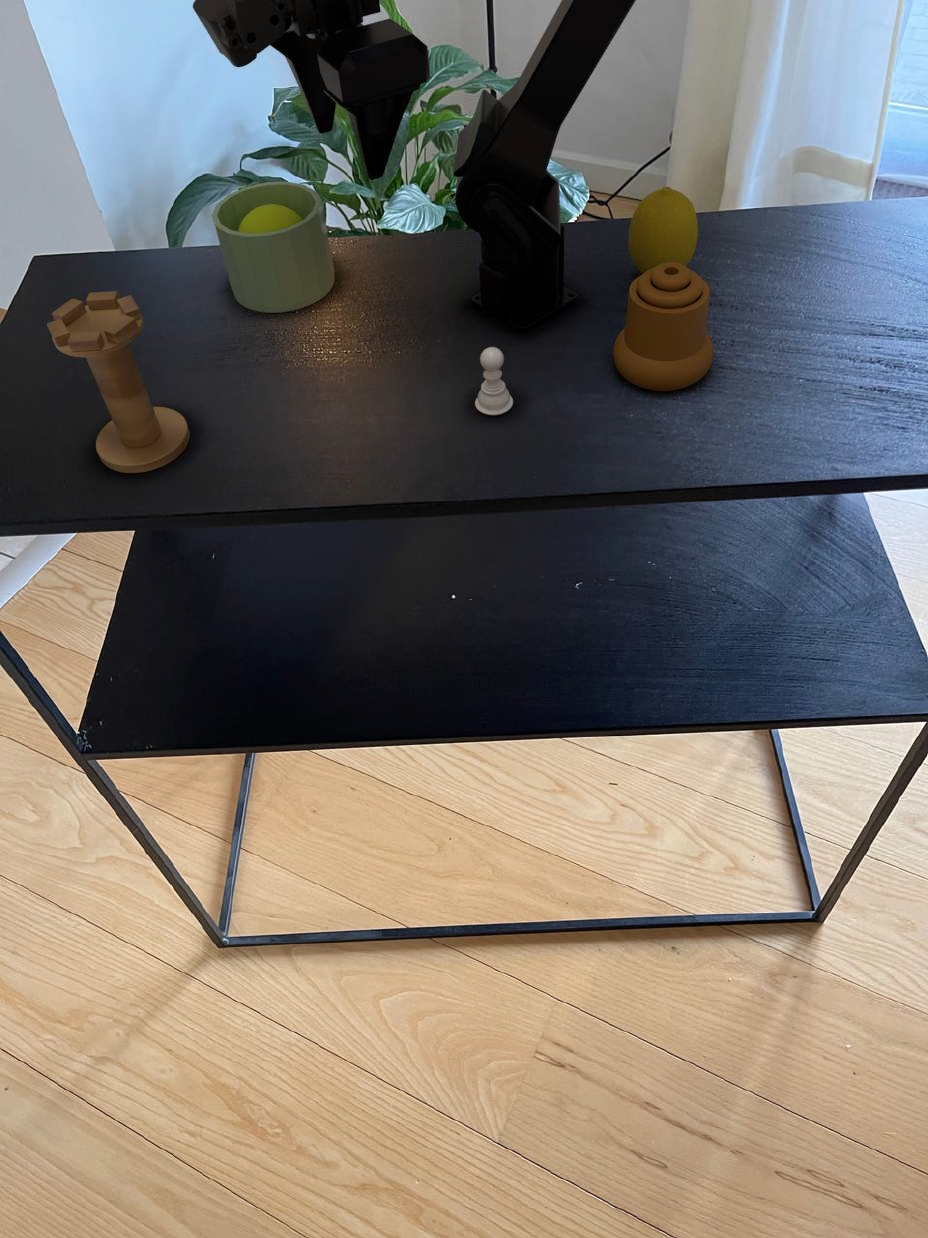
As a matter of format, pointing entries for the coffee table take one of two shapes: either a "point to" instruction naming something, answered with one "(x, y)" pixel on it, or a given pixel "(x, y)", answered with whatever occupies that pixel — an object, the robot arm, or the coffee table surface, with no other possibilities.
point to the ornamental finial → (665, 330)
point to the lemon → (663, 230)
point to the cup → (275, 249)
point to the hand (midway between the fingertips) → (349, 153)
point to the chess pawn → (493, 384)
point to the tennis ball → (268, 219)
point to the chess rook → (119, 382)
